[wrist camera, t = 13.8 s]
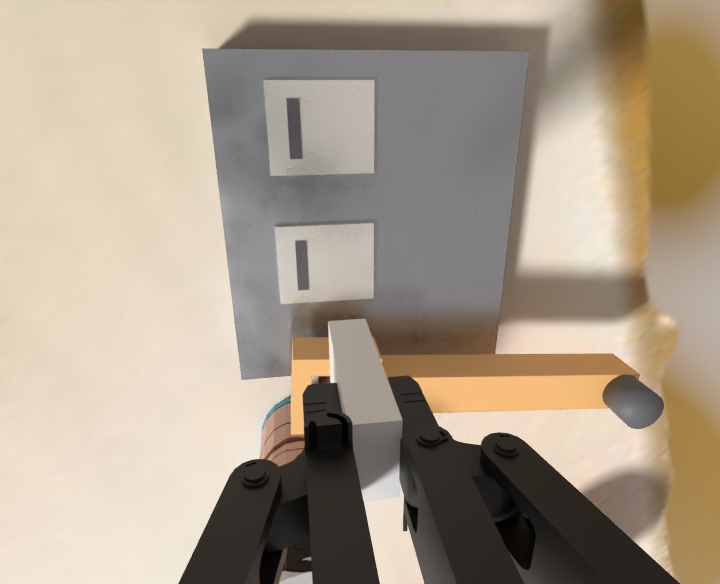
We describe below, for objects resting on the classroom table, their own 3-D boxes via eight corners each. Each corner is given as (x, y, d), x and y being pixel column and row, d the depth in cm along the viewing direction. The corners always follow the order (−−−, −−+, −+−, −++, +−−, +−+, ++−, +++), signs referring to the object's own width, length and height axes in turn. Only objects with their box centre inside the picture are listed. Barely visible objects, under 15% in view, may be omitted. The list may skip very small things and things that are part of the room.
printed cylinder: (342, 388, 37) (375, 559, 23) (349, 455, 39) (384, 646, 25) (255, 401, 36) (235, 586, 22) (269, 469, 38) (259, 672, 25)
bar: (290, 407, 31) (291, 460, 26) (292, 337, 29) (293, 380, 24) (602, 399, 35) (650, 444, 30) (621, 337, 33) (676, 375, 28)
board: (211, 54, 27) (182, 35, 20) (506, 56, 29) (580, 39, 22) (245, 357, 34) (233, 426, 27) (478, 339, 37) (526, 398, 29)
